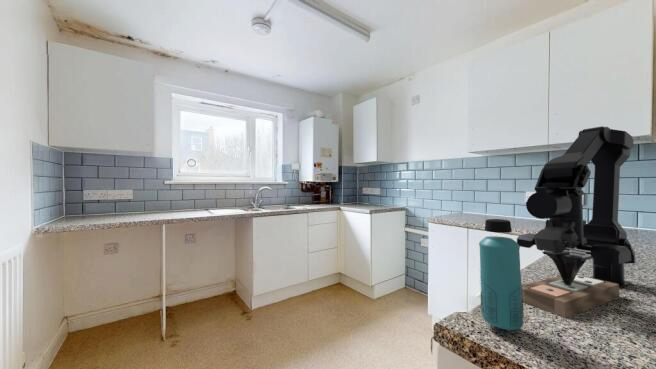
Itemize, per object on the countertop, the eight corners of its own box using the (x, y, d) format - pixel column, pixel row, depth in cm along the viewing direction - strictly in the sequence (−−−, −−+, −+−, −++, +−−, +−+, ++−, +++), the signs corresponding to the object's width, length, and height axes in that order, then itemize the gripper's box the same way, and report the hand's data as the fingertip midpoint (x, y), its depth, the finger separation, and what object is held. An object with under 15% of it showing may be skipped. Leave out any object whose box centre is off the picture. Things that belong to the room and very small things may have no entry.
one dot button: (543, 295, 61) (543, 283, 61) (570, 303, 56) (570, 291, 56) (530, 299, 59) (530, 287, 59) (557, 308, 54) (556, 295, 54)
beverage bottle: (532, 341, 44) (528, 221, 44) (488, 337, 45) (485, 221, 46) (513, 321, 51) (510, 217, 51) (475, 319, 52) (472, 217, 52)
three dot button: (561, 290, 63) (560, 279, 63) (588, 297, 59) (587, 286, 59) (548, 293, 61) (548, 282, 61) (575, 302, 57) (575, 289, 57)
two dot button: (577, 285, 66) (576, 274, 66) (604, 292, 61) (603, 280, 62) (565, 288, 64) (565, 277, 64) (593, 295, 60) (592, 284, 60)
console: (570, 284, 68) (570, 272, 69) (619, 297, 60) (619, 284, 60) (516, 300, 60) (516, 286, 60) (565, 317, 52) (564, 302, 52)
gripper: (501, 214, 66) (503, 277, 66) (602, 223, 49) (605, 308, 48) (529, 212, 70) (531, 270, 70) (631, 218, 53) (634, 297, 53)
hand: (568, 284), depth 60 cm, fingers closed, pressing on three dot button
